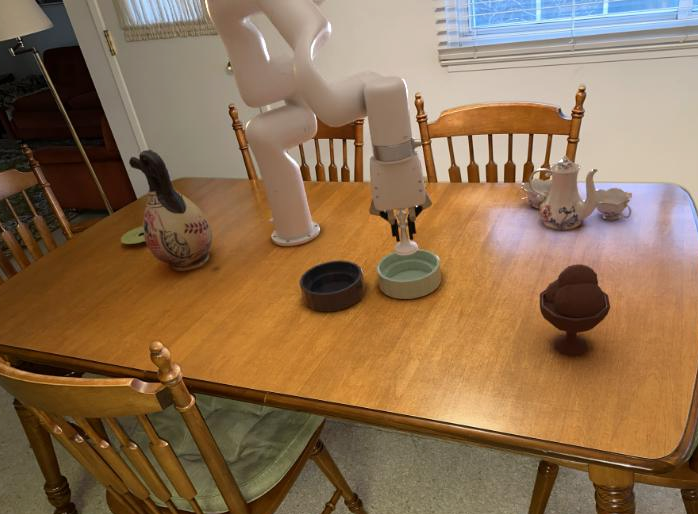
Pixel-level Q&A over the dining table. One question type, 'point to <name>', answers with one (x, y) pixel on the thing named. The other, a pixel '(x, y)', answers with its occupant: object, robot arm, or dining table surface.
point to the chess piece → (404, 237)
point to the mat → (134, 236)
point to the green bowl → (409, 274)
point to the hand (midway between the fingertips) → (404, 237)
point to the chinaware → (572, 197)
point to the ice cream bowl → (574, 307)
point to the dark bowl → (332, 285)
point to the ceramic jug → (171, 218)
